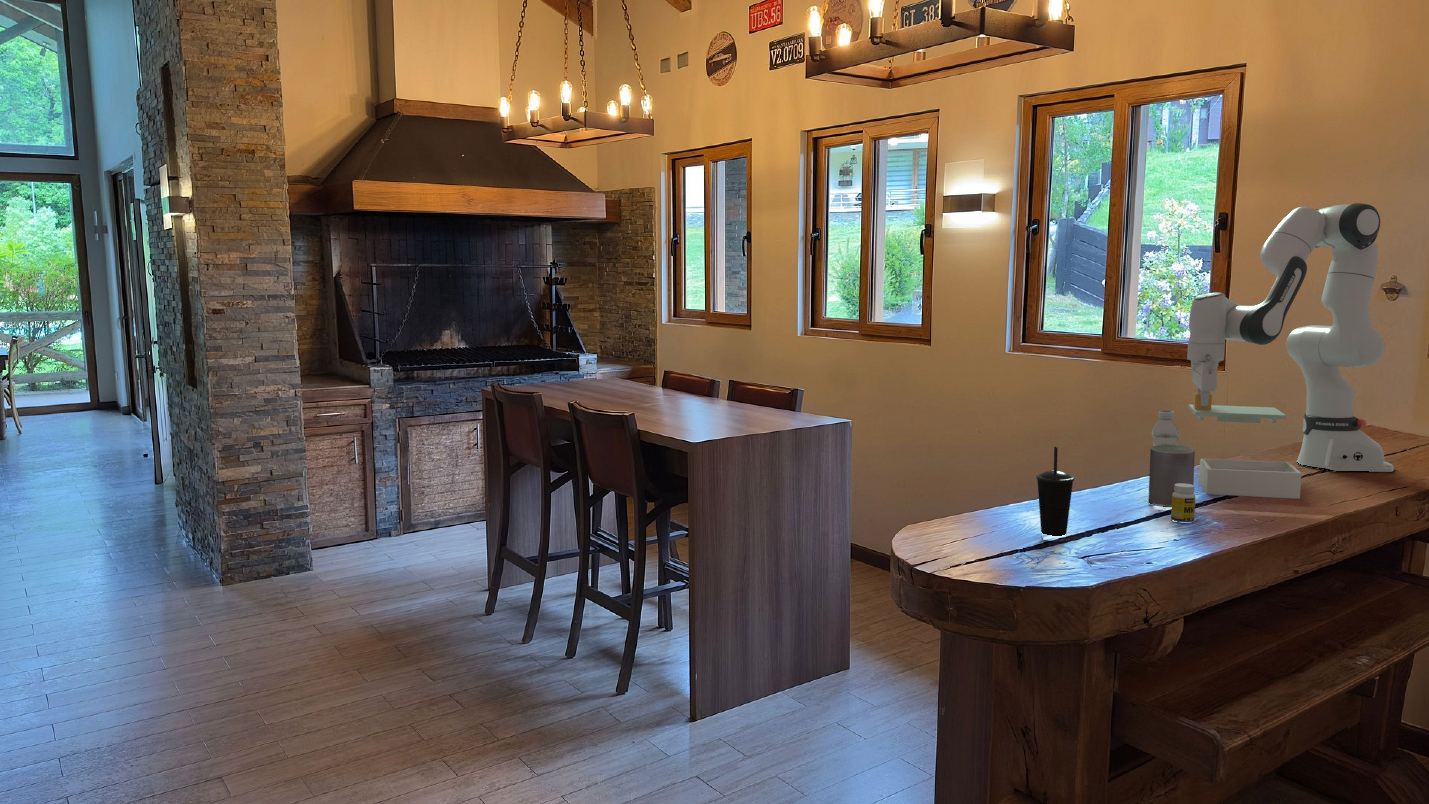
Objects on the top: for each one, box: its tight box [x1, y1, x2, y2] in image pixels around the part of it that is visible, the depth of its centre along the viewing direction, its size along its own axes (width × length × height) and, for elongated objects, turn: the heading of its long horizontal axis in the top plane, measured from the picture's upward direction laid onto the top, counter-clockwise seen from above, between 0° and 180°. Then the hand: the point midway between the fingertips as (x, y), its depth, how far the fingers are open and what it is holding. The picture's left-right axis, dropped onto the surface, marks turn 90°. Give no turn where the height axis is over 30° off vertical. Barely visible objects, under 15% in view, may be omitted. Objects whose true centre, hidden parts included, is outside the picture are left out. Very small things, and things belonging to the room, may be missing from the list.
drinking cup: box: [1035, 446, 1076, 536], centre depth 200 cm, size 8×8×20 cm
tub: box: [1198, 458, 1302, 500], centre depth 237 cm, size 20×14×7 cm
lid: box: [1188, 392, 1287, 424], centre depth 254 cm, size 21×15×6 cm
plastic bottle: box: [1151, 409, 1180, 447], centre depth 243 cm, size 6×7×20 cm
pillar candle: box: [1147, 443, 1196, 507], centre depth 227 cm, size 10×10×15 cm
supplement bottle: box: [1170, 483, 1197, 523], centre depth 212 cm, size 5×5×8 cm
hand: (1202, 404), depth 257 cm, fingers closed on lid, 3 cm apart
